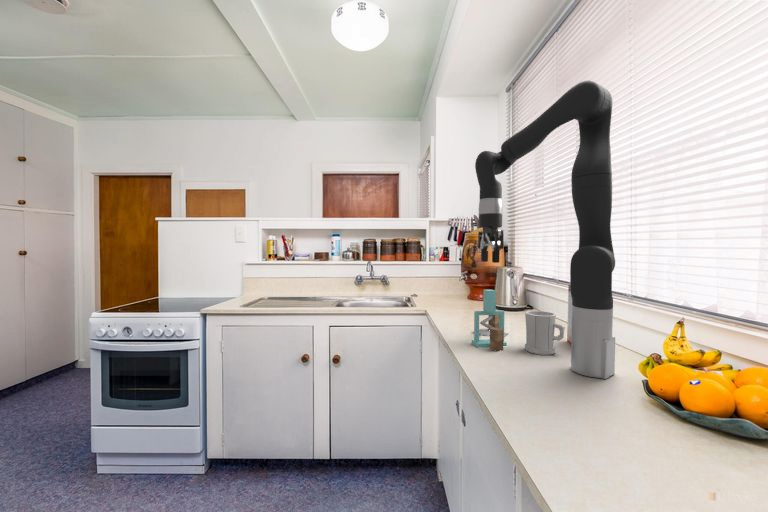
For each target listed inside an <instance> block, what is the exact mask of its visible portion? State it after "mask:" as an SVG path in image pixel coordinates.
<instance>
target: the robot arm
mask: <svg viewBox="0 0 768 512" xmlns="http://www.w3.org/2000/svg"><path fill="white" fill-rule="evenodd" d="M612 111H613V97H612V94H611V92H610V91H609V89H608V88H606V87H604V86H602V85H601V84H600V83H598V82H596V81H594V80H583V81H579V82H578V83H576V84H575V85H573V86H572V87H570V88H569V89H568V90H567V91H566V92H565V93H563V94H562V96H561V97H559V98H558V99H557V100H556V101H555V102H554V103H553V104H552V105H551V106H549V107H547V109H546V110H545V111H543V112H542V113H541V114H540V115H539V116H538V117H537V118H536V119H534V120H533V121H532V122H530V123H529V124H528V125H527V126H525V127H524V128H523V129H521V130H519V131H518V132H517V133H515V134H513V135H512V136H511V137H508V138H507V139H506V140H505V141H503V142H502V144H501V146H500V151H499V152H493V151H490V150H484V151H482V152H480V153H478V155H477V157H476V160H475V164H474V168H475V174H476V178H477V182H478V185H479V201H478V227H479V228H481V229H482V231H478V233H477V235H478V236H477V248H478V249H479V251H480V261H481V262H482V263H483V262H484V263H485V262H486V263H487V262H488V261H489V251H488V250H489V247H490V248H491V262H492V263H494V264H496V263H497V264H498V263H500V252H501V250H503V249H504V247H505V246H504V230H503V229H499V228H502V226H503V202H502V199H503V198H502V196H503V195H502V193H503V187H502V183H501V182H500V181H499V180H497V178H496V176H498V175H500V174H502V173H504V172H506V171H508V169H509V168H510V167H511V166H512V165H514V163H515V162H516V161H517V160H519V159H522V158H523V157H525V156H526V155H528V154H530V153H531V152H532V151H534V150H535V149H536V148H538V147H539V146H540V145H541V144H542V143H543V142H544V141H545V139H546V138H547V137H548V136H549V135H550V134H552V133H553V132H554V131H555V130H556V129H558V128H559V127H561V126H563V125H564V124H566V123H569V122H571V121H573V120H576V121H577V122H578V129H579V146H578V151H577V153H576V156H575V160H574V162H573V165H572V166H573V167H572V168H571V169H572V170H571V178H570V179H571V196H572V197H571V199H572V203H573V207H574V212H575V216H576V220H577V224H578V230H579V232H578V233H579V235H578V236H579V238H578V249H577V250H576V251H575V252H574V253H573V254H572V256H571V259H570V267H569V268H570V269H569V275H570V276H569V278H570V279H569V281H570V291H571V297H572V338H571V343H570V344H571V345H570V346H571V347H570V348H571V349H570V355H571V356H570V370H571V371H572V372H574V373H575V374H579V375H582V376H585V377H591V378H597V379H598V378H599V379H603V380H607V379H608V378H610V377H612V376H613V375H615V371H616V370H615V369H616V368H615V367H616V365H615V363H616V337H615V336H613V327H614V326H613V322H614V321H613V320H614V319H613V318H614V297H613V290H612V289H613V287H612V286H613V284H612V283H613V282H612V281H613V274H612V273H613V272H614V270H615V267H616V258H615V252H614V246H613V240H612V239H613V238H612V233H611V223H612V222H611V221H612V220H611V219H612V208H613V207H612V206H613V171H612V154H611V152H612V150H611V125H612V124H611V123H612V114H613V112H612Z"/></svg>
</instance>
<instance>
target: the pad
mask: <svg viewBox="0 0 768 512" xmlns="http://www.w3.org/2000/svg"><path fill="white" fill-rule="evenodd" d="M471 333H474V330H473V331H471ZM479 334H482V335H481V336H485V335H489V336H488V337H490V331H488V329H487V330H486V329H479ZM506 335H507V336H508V335H509V333H508V332H504V337H505V336H506ZM507 336H506V337H507ZM506 337H505V338H506Z"/></svg>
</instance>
